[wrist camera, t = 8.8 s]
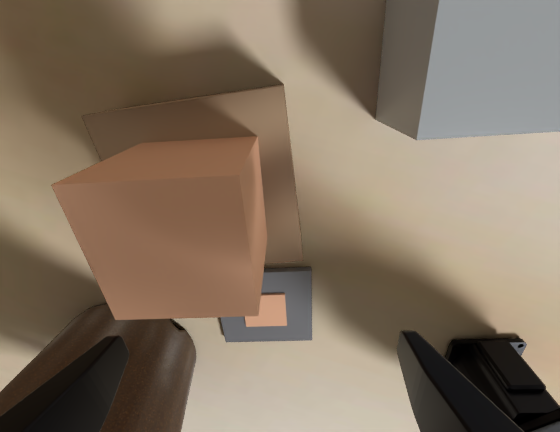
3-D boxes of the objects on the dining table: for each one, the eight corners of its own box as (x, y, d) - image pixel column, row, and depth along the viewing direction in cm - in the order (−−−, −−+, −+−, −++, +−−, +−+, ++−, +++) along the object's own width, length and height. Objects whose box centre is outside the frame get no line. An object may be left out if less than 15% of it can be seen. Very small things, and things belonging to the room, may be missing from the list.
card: (311, 335, 25) (312, 342, 25) (227, 337, 26) (225, 344, 25) (310, 267, 22) (311, 272, 21) (212, 270, 22) (210, 276, 21)
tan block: (300, 228, 21) (303, 260, 17) (174, 242, 21) (151, 275, 18) (283, 83, 16) (282, 86, 13) (124, 107, 17) (81, 115, 13)
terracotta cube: (267, 237, 16) (258, 316, 11) (170, 241, 17) (115, 320, 11) (257, 136, 14) (239, 175, 8) (141, 143, 14) (51, 184, 9)
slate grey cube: (476, 112, 16) (568, 131, 11) (375, 119, 17) (416, 139, 11) (508, -15, 14) (651, -73, 8) (386, -4, 14) (447, -54, 9)
